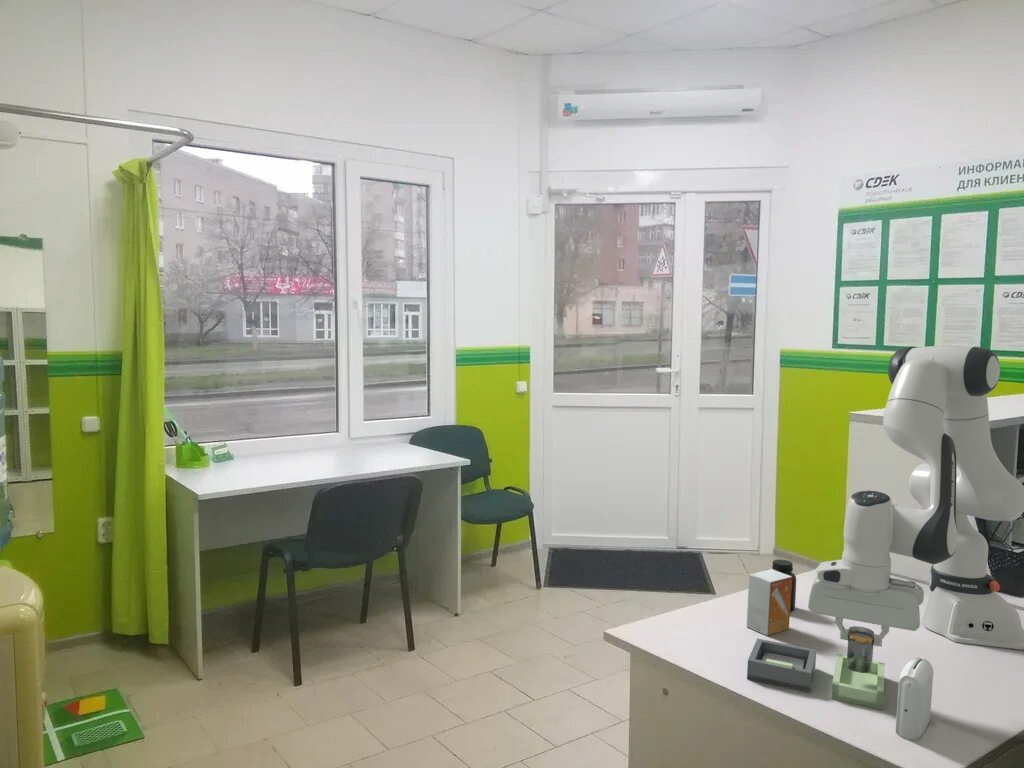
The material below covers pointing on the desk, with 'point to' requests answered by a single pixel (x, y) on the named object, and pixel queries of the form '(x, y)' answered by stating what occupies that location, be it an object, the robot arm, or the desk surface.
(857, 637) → the grey cell
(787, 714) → the desk surface
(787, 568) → the supplement bottle
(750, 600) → the small box
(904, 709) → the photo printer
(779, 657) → the pan
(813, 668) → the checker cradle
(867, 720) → the desk surface
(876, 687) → the green trough
